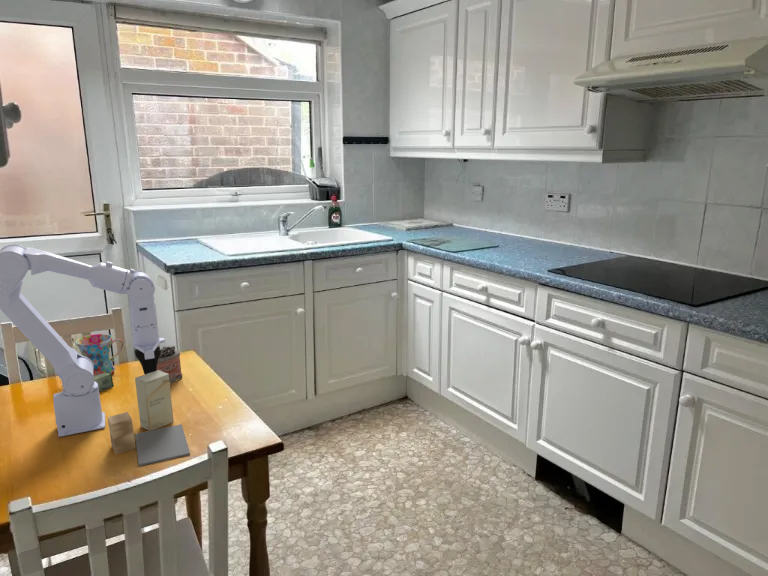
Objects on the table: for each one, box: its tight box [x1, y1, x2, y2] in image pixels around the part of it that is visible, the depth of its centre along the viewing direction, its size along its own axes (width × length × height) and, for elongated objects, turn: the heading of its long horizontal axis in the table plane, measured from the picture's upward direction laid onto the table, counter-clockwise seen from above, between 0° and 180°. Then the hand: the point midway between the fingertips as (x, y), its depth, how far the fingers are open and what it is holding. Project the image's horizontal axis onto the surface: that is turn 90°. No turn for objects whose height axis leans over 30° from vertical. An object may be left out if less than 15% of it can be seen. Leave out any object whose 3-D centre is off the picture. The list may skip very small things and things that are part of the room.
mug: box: [75, 333, 124, 376], centre depth 162 cm, size 12×9×11 cm
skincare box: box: [134, 370, 174, 431], centre depth 132 cm, size 6×4×12 cm
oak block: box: [107, 411, 137, 455], centre depth 122 cm, size 4×4×7 cm
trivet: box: [134, 423, 191, 467], centre depth 124 cm, size 10×14×1 cm
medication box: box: [94, 372, 115, 393], centre depth 150 cm, size 12×3×4 cm, turn 147°
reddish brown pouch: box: [157, 344, 183, 384], centre depth 156 cm, size 8×3×10 cm, turn 144°
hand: (150, 377), depth 137 cm, fingers closed
